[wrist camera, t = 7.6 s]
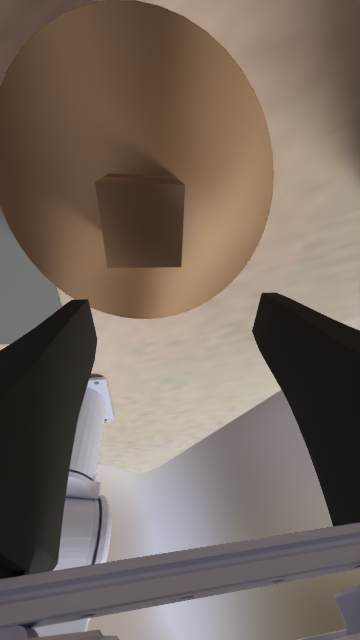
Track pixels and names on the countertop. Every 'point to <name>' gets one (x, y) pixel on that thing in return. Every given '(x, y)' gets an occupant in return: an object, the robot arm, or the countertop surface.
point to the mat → (21, 290)
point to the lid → (133, 159)
